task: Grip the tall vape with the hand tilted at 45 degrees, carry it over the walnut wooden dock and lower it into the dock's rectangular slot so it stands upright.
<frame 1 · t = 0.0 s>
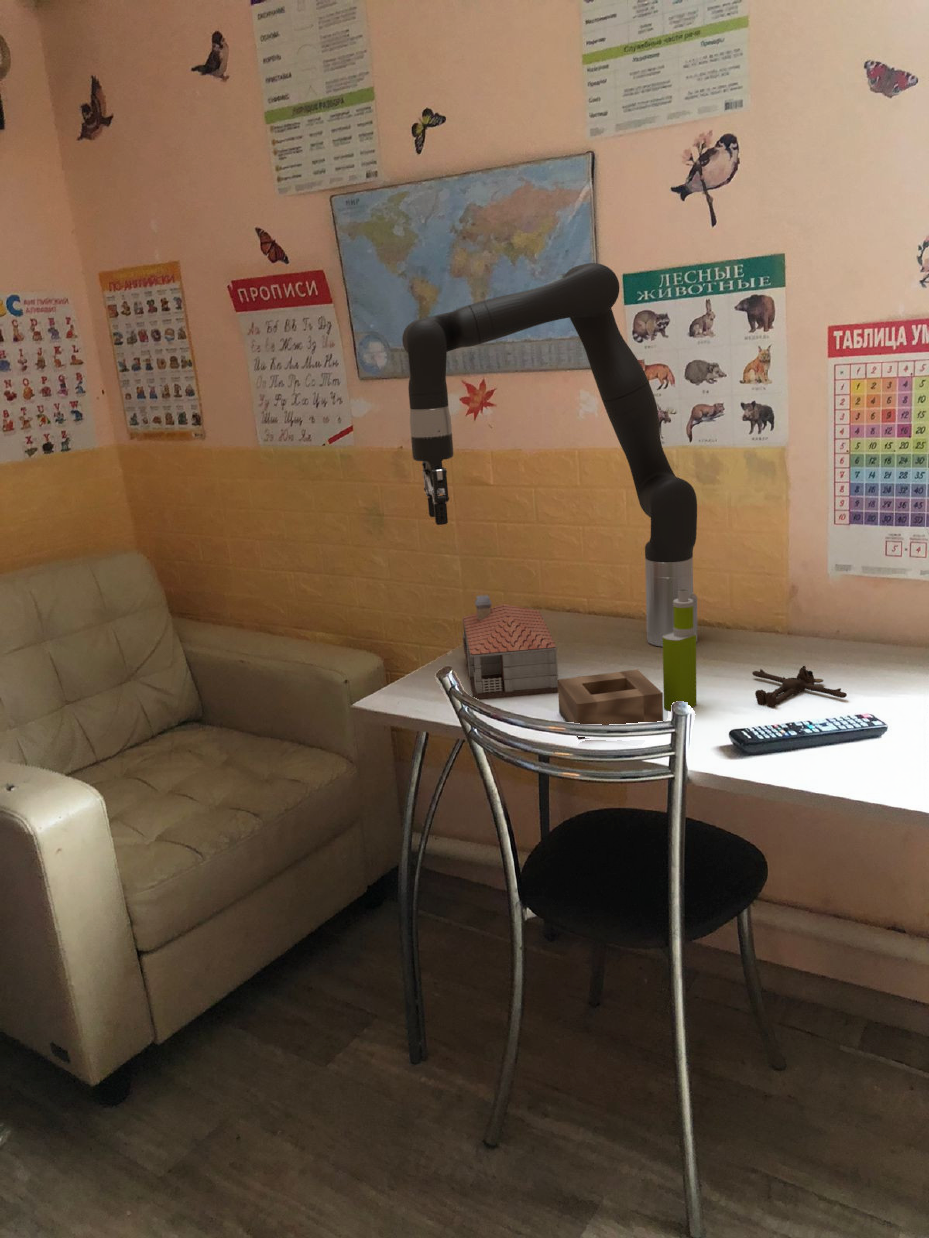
hand: (438, 520, 193), 29 cm above the table, tool pointing down, fingers open, 8 cm apart
model house: (508, 677, 195), on the table
brown humanoid figurine: (788, 697, 176), on the table
vape: (680, 707, 174), on the table
dock: (609, 720, 170), on the table
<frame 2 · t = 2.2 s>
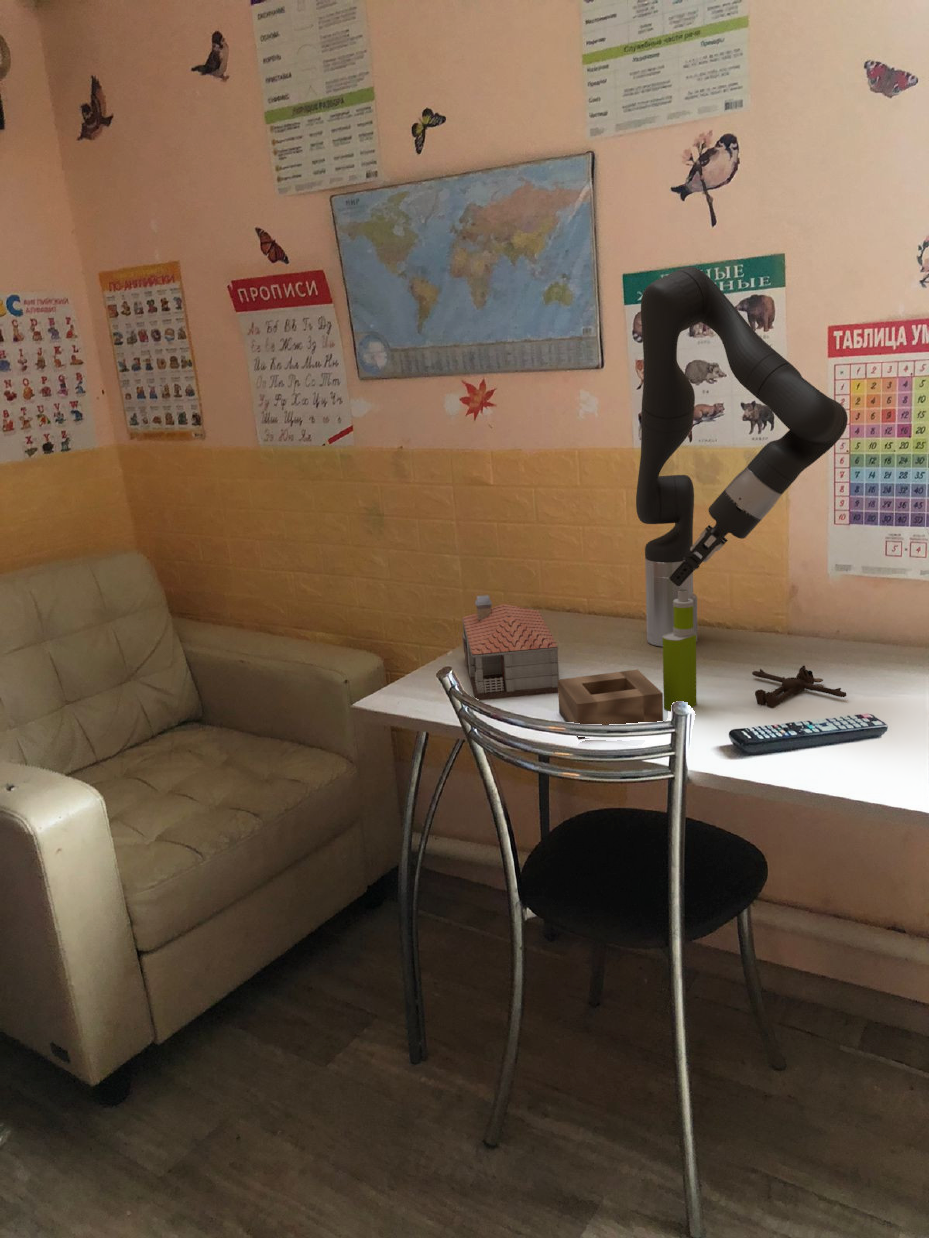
hand: (678, 577, 170), 22 cm above the table, tool tilted 40°, fingers open, 8 cm apart
nothing on the table moved.
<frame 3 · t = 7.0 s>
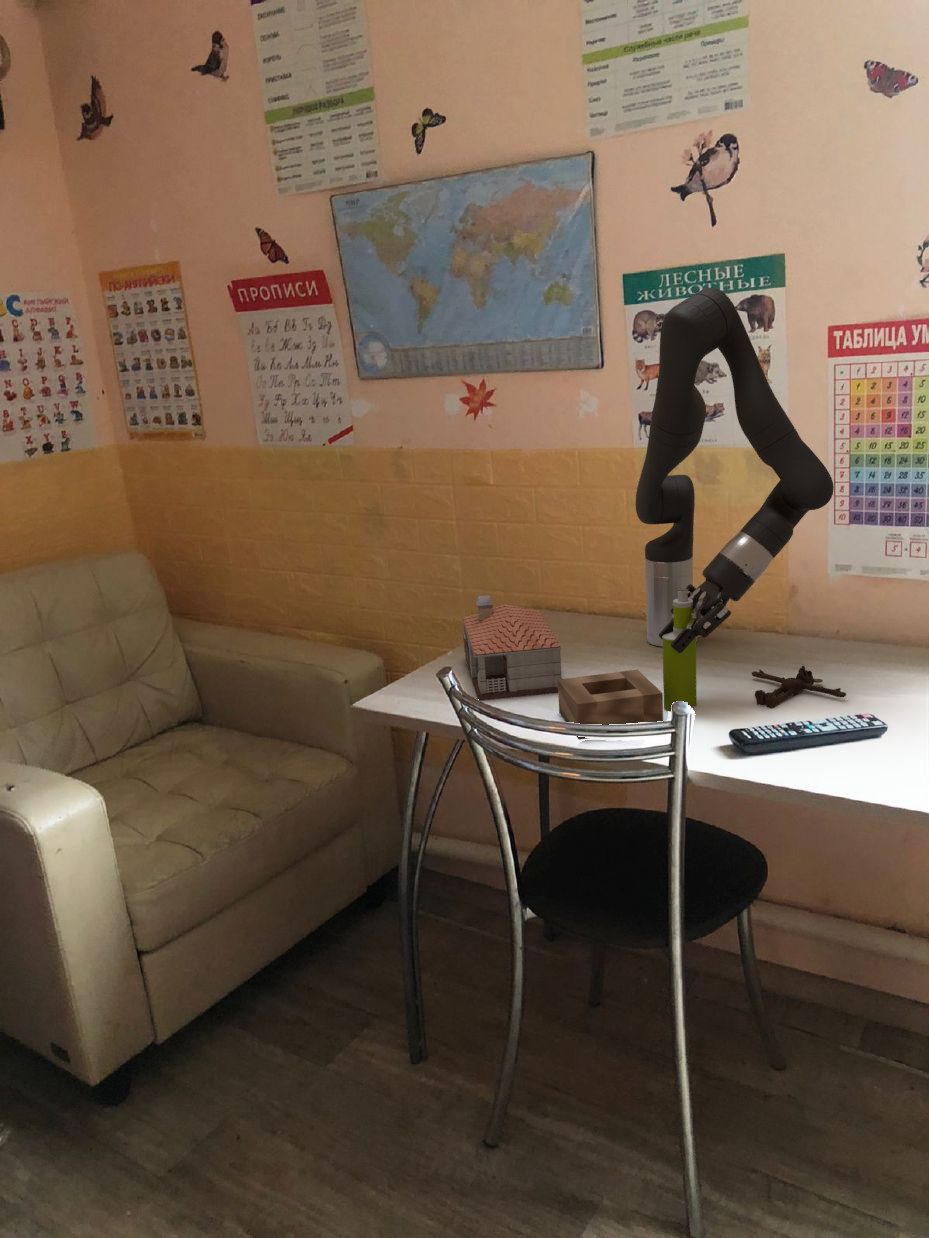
hand: (669, 644, 170), 11 cm above the table, tool tilted 45°, fingers closed on vape, 5 cm apart
vape: (680, 707, 174), on the table, touching gripper
everything else where it was.
when the fingers open (13 cm above the table, at t = 12.2 s): vape drops 1 cm, resting on dock.
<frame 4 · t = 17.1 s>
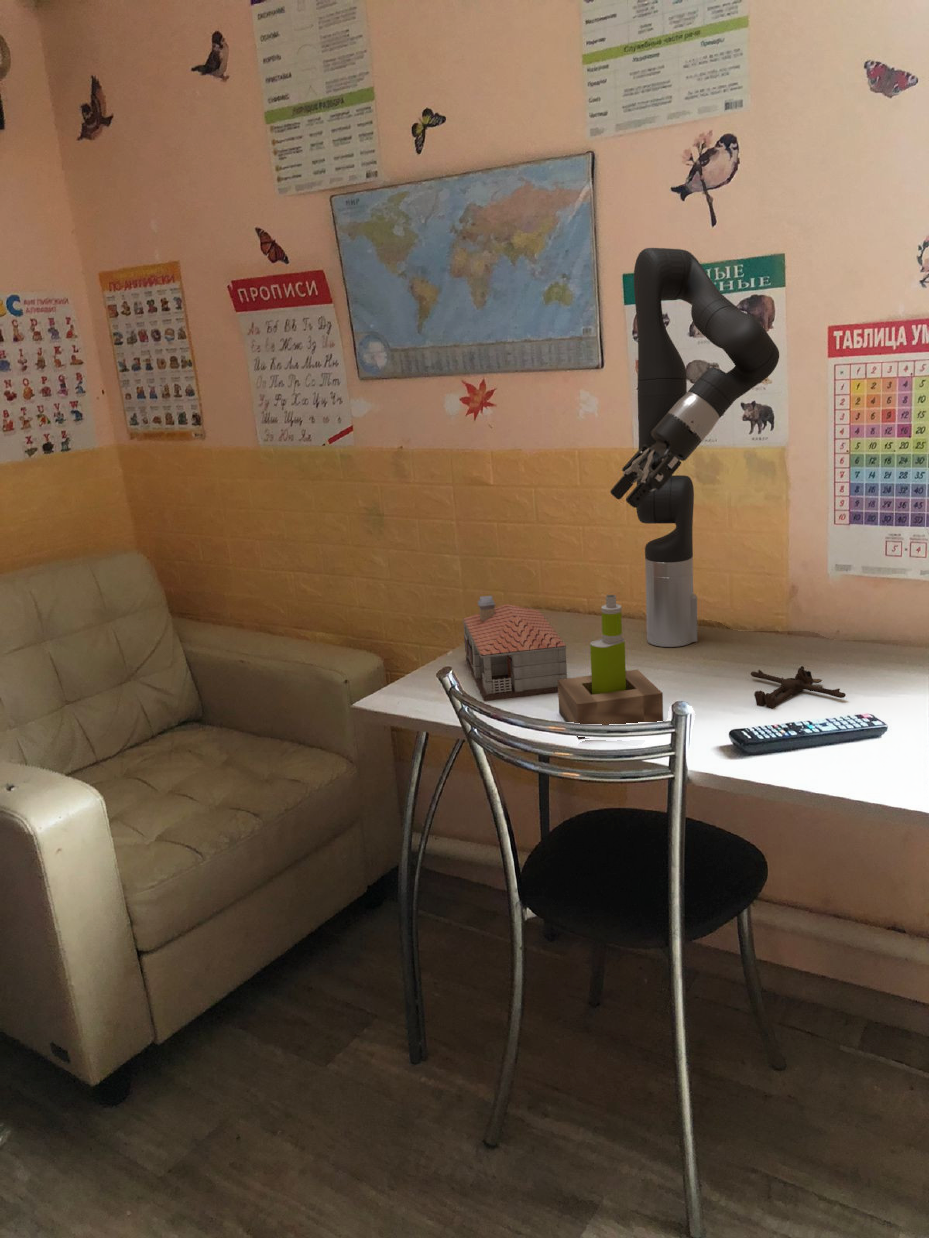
hand: (621, 500, 175), 34 cm above the table, tool tilted 45°, fingers open, 8 cm apart
vape: (610, 715, 170), point 1 cm above the table, touching dock
at the end: vape 0.1 cm off-centre on the dock, point 0.8 cm above the dock's base; vape tilted 0°; the gripper is holding nothing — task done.
